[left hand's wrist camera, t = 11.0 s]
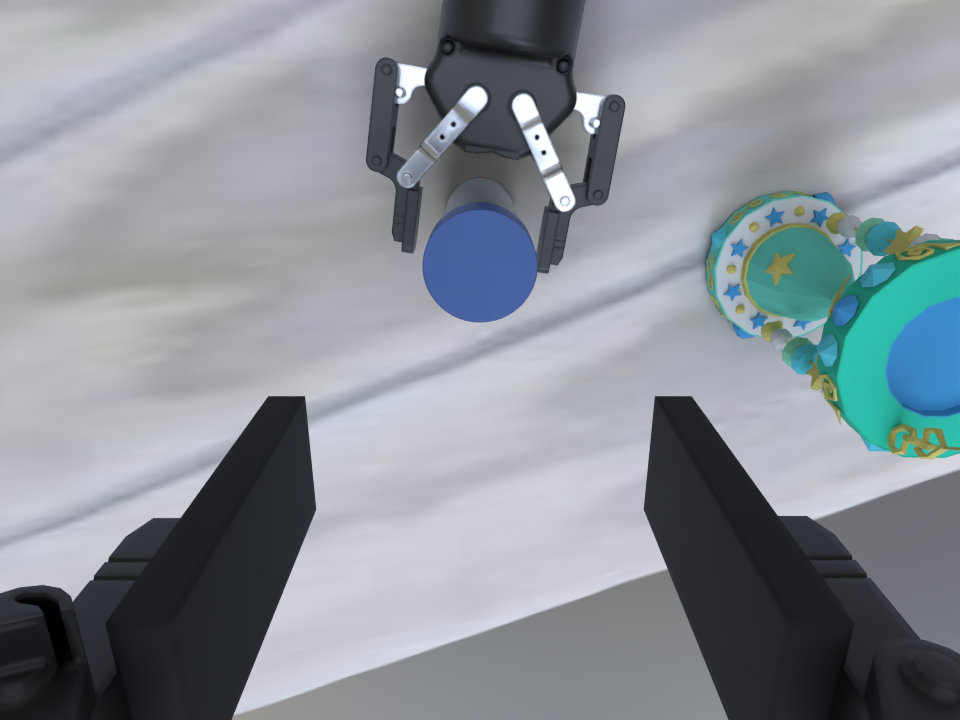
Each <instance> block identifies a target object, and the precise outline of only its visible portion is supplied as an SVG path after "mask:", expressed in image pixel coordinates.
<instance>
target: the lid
mask: <svg viewBox="0 0 960 720" xmlns="http://www.w3.org/2000/svg"><path fill="white" fill-rule="evenodd" d="M423 276H424V280H425V283H426V286H427V289H428V291H429V293H430V294H431V296H432V297H433V299H434V300H435V302H436V303H437V304H438V305H439V306H440V307H441V308H442V309H444V310H445V311H446V312H448V313H449V314H451V315H452V316H455V317H457V318H459V319H462V320H465V321H470V322H490V321H495V320H498V319H501V318H503V317H505V316H508V315H509V314H511V313H512V312H514V311H515V310H516V309H518V308H519V307H520V306H521V305H522V304H523V303H524V302H525V300H526V299H527V298H528V296H529V295H530V293H531V291H532V289H533V286H534V284H535V280H536V276H537V256H536V251H535V248H534V245H533V243H532V240H531V237H530V235H529V233H528V231H527V229H526V227H525V226H524V224H523V223H522V222H521V221H520V219H519V218H518V217H517V216H515V215H514V214H513V213H512V212H510V211H509V210H507V209H505V208H503V207H501V206H498V205H496V204H492V203H485V202H475V203H469V204H464V205H462V206H459V207H457V208H455V209H453V210H451V211H450V212H448V213H447V214H446V215H445V216H444V217H442V218H441V219H440V221H439V222H438V223H437V224H436V226H435V227H434V229H433V231H432V233H431V235H430V237H429V240H428V243H427V245H426V249H425V252H424V257H423Z"/></svg>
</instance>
